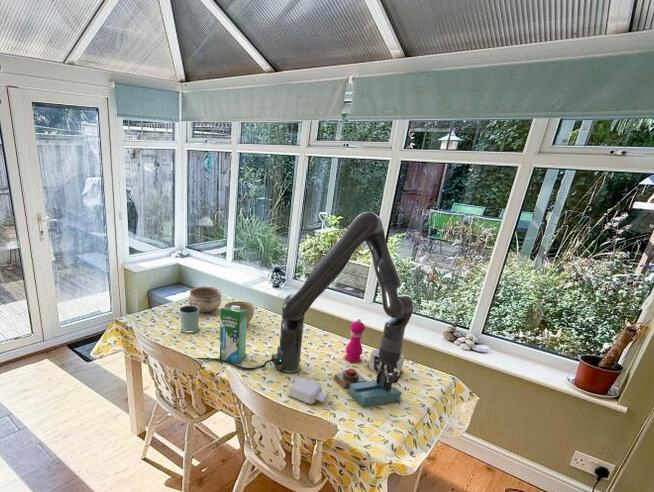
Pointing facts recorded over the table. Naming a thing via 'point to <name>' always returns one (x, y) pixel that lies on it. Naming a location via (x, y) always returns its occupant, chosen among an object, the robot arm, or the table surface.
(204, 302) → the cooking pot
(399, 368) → the lumpy-topped squat cylinder
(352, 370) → the button
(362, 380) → the panel
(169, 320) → the table surface
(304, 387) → the charger
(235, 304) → the planter bowl
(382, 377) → the slider
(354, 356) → the pepper mill
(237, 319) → the milk carton
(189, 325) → the grey-green cylindrical pot
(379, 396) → the control base
